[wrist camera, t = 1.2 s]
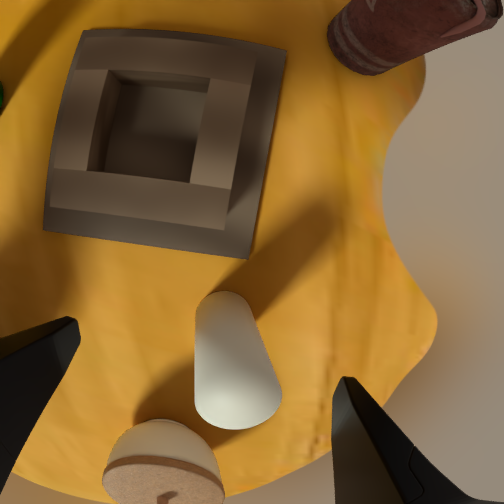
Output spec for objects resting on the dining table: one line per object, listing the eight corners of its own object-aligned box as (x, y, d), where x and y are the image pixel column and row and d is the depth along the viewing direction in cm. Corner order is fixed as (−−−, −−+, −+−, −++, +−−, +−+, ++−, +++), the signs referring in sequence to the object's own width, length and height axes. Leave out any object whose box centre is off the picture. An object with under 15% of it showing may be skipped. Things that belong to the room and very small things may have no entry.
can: (332, 77, 20) (454, 5, 7) (318, 13, 19) (409, -83, 5) (393, 83, 21) (521, 43, 8) (379, 22, 19) (483, -42, 6)
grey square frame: (247, 257, 23) (256, 274, 19) (46, 228, 20) (20, 239, 16) (284, 53, 19) (301, 31, 15) (85, 33, 16) (67, 11, 12)
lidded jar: (238, 443, 27) (252, 514, 18) (165, 475, 27) (164, 538, 18) (168, 384, 24) (161, 466, 15) (95, 425, 24) (75, 493, 15)
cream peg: (246, 343, 24) (271, 429, 15) (192, 338, 24) (191, 426, 14) (256, 294, 24) (290, 368, 14) (199, 287, 23) (198, 363, 13)
